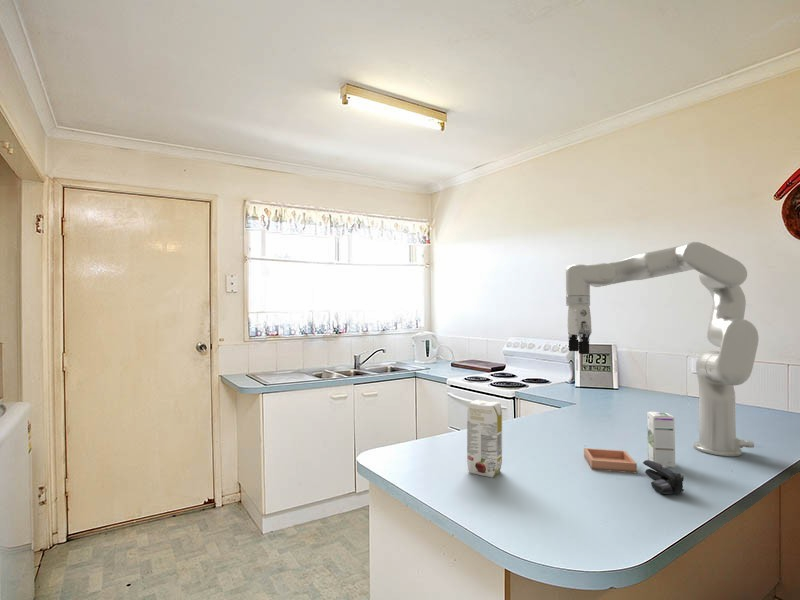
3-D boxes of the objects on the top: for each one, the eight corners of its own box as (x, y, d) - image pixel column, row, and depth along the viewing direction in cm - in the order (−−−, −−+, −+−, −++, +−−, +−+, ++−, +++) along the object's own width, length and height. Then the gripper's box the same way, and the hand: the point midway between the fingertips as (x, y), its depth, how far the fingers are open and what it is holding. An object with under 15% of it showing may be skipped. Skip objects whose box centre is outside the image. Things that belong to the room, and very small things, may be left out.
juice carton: (494, 479, 118) (494, 406, 119) (464, 473, 123) (464, 402, 123) (504, 470, 124) (504, 401, 125) (475, 465, 129) (475, 398, 129)
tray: (625, 459, 135) (625, 450, 135) (636, 472, 124) (636, 463, 124) (584, 456, 138) (584, 448, 138) (591, 469, 126) (591, 460, 126)
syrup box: (676, 467, 128) (675, 416, 128) (653, 466, 129) (653, 415, 129) (668, 461, 134) (668, 412, 134) (646, 459, 135) (646, 411, 135)
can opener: (691, 500, 107) (691, 476, 107) (660, 498, 108) (659, 474, 108) (661, 473, 124) (660, 452, 124) (633, 471, 125) (633, 451, 125)
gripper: (599, 300, 143) (600, 354, 143) (580, 302, 161) (580, 350, 160) (575, 300, 144) (576, 354, 143) (558, 302, 161) (559, 350, 160)
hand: (578, 352), depth 152 cm, fingers open, 9 cm apart
